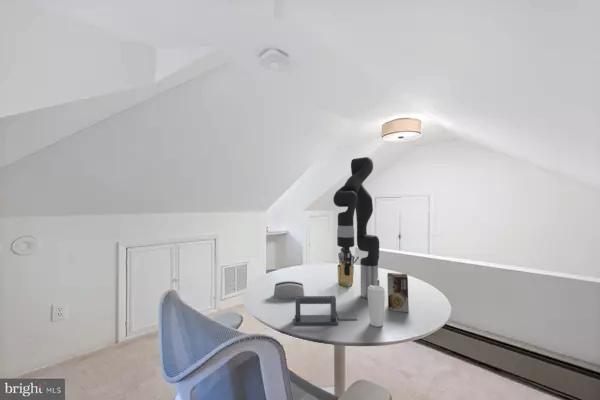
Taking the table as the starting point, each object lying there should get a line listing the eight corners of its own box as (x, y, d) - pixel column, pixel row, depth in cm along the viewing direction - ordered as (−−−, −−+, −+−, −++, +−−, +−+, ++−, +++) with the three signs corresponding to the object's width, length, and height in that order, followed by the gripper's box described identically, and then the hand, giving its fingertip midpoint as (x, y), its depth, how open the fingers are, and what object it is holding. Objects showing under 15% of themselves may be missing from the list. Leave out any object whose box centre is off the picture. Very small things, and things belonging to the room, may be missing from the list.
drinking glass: (365, 321, 109) (365, 285, 110) (381, 320, 110) (380, 285, 110) (371, 328, 102) (370, 290, 103) (387, 327, 103) (387, 290, 103)
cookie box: (407, 307, 124) (407, 273, 124) (408, 312, 118) (408, 277, 118) (387, 305, 127) (387, 272, 127) (387, 310, 121) (387, 275, 121)
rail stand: (335, 317, 113) (335, 294, 113) (337, 325, 106) (337, 300, 106) (294, 317, 113) (294, 294, 113) (294, 325, 106) (294, 300, 106)
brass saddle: (350, 279, 117) (350, 261, 117) (352, 282, 112) (352, 263, 112) (339, 279, 117) (339, 261, 117) (341, 282, 112) (341, 263, 112)
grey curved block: (304, 294, 143) (304, 279, 140) (304, 300, 138) (304, 284, 135) (274, 294, 142) (273, 279, 139) (273, 300, 138) (272, 284, 135)
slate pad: (353, 312, 118) (353, 311, 118) (357, 320, 110) (357, 318, 110) (336, 312, 118) (336, 311, 118) (338, 320, 110) (338, 318, 110)
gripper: (357, 237, 108) (357, 278, 108) (350, 233, 122) (351, 269, 122) (339, 237, 108) (340, 278, 108) (335, 233, 122) (335, 269, 122)
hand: (345, 273), depth 115 cm, fingers closed on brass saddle, 5 cm apart
